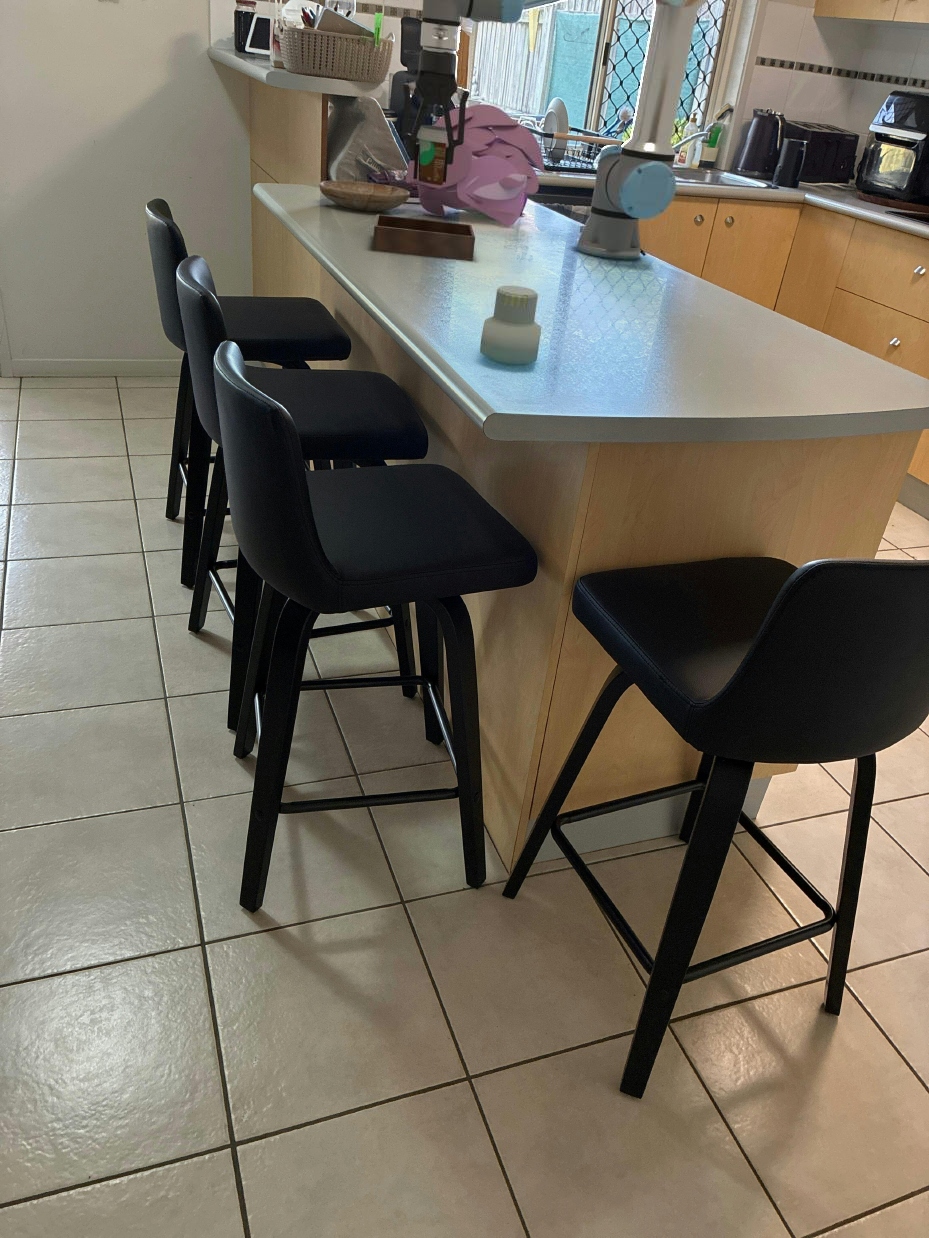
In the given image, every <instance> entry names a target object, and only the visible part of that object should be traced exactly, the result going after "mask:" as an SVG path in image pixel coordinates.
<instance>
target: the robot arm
mask: <svg viewBox="0 0 929 1238" xmlns="http://www.w3.org/2000/svg"><path fill="white" fill-rule="evenodd" d="M565 1H567V0H422V11H421V13H422V14H421V27H420V41H419V42H420V43H419V46H420V47H421V48H422V49H421V50H420V52H419V56H418V57H419V58H418V59H419V60H418V72H417V77H416V79H415V81H412V82H409V83H407V82H405V83H403V84H402V90H403V94H404V104H403V115H402V116H403V118H402V128H401V138H402V139H403V140H405V141H406V142H408V143H409V151H408V159H409V161H410V160H411V161H414V176H413V179H417V172H418V156H419V143H418V142H417V139H418V138H417V134H418V131H419V130H420V127H421V126H422V124H423V121H424V118H425V114H426V112H427V109H428V107H429V105H437V106H441V107H442V113H443V115H444V120H445V126H446V132H447V138H448V147H447V146H446V151H445V162H444V174H443V182H446V176H447V164H449V165H452V163H453V157H454V148H455V147H456V146H459V145H462V144H463V142H464V126H465V109H466V105H467V102H468V99H469V97H470V91H469V90H468V89H464V88H462V87H459V86H458V85H459V84H458V82H457V69H458V56H457V55H458V54H457V53H456V52H458V50H459V43H460V32H461V31H460V30H461V20H462V18H465V19H470V20H471V21H472V22H474V23H482V22H494V23H501V24H504V25H505V24H513V25H514V24H518V23H519V22H520V20H522V16H523V13H524V12H525V11H529V10H533V9H537V8H540V7H546V6H550V5H553V4H557V3H563V2H565ZM652 1H653V3H654V9H653V14H652V20H651V25H650V32H649V37H648V41H647V47H646V53H645V57H644V62H643V63H644V64H643V69H642V74H641V80H640V86H639V90H638V96H637V102H636V107H635V113H634V117H633V124H632V129H631V134H630V138H629V139H628V140H626V141H625V142H624V143H623V144H622V145H615V144H614V145H613V144H612V145H611V144H610V145H604V147H602V149H601V150H600V154H599V158H598V160H597V169H596V175H595V181H594V187H593V188H594V189H593V194H592V199H591V200H592V201H591V206H590V211H589V216H588V218H587V220H586V222H585V223H584V224H585V225H580V226H579V233H580V235H579V237H578V239H577V243H576V250H577V251H579V252H581V253H584V254H586V255H590V256H595V257H599V258H604V259H611V260H612V259H613V260H624V261H625V260H627V261H629V260H632V261H633V260H637V259H640V255H642V256H643V257H645V256H646V255H647V253H646V252H645V251H644V250H643V249H642V247H641V237H640V228H639V220H649V219H653V218H656V217H658V216H660V215H661V214H663V212H665V211H666V210H667V209H668V208H669V207H670V205H671V204H672V202H673V200H674V198H675V195H676V191H677V179H676V176H675V172H673V168H674V164H675V159H676V154H677V153H676V151H675V149H674V147H673V146H672V137H673V133H674V128H675V123H676V119H677V118H676V117H677V114H678V108H679V103H680V98H681V95H682V94H681V93H682V89H683V84H684V78H685V74H686V70H687V69H686V68H687V64H688V61H689V55H690V54H689V53H690V50H691V46H692V45H691V44H692V40H693V35H694V30H695V26H696V20H697V15H698V11H699V10H700V8H702V6H704V5H705V4H706V3H707V2H708V0H652ZM415 89H417V91H418V93H419V94H420V96H421V98H422V100H421V104H420V107H419V110H418V113H417V116H416V120H415V122H414V125H413V128H412V132H411V133H409V126H410V125H409V124H410V113H411V104H412V103H411V102H412V96H413V95H414V94H415ZM455 93H456V94H457V100H458V101H459V104H458V108H459V118H458V137H457V139H454V137H453V131H452V125H451V119H450V113H449V111H450V106H449V101H450V100H451V99H452V97H453V96H454V95H455Z"/></svg>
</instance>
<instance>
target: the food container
mask: <svg viewBox="0 0 929 1238" xmlns="http://www.w3.org/2000/svg"><path fill="white" fill-rule="evenodd" d="M417 139H418V142H419V181H421V182H425V183H429V184H435V185H443V174H444V162H445V151H446V140H447V132H446V127H441V126H432V125H426V124H425V125H424V124H423V125H422V124H421V127H420V130H419V131H418V134H417Z"/></svg>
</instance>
